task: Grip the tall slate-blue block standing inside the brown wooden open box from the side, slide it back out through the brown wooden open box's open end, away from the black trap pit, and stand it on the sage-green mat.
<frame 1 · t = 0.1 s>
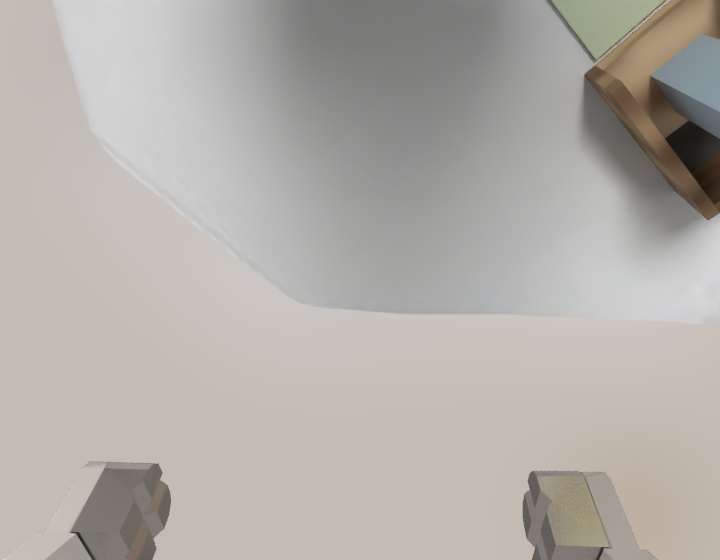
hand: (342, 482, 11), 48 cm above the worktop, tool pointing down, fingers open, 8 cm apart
brown wooden open box: (692, 91, 51), on the worktop
block: (688, 74, 48), point 2 cm above the worktop, touching brown wooden open box
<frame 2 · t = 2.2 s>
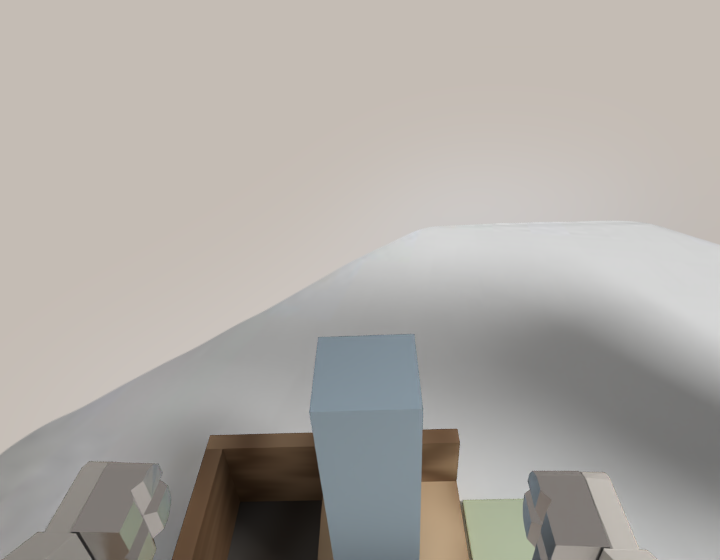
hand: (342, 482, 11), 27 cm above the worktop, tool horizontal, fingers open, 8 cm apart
block: (378, 552, 34), point 2 cm above the worktop, touching brown wooden open box
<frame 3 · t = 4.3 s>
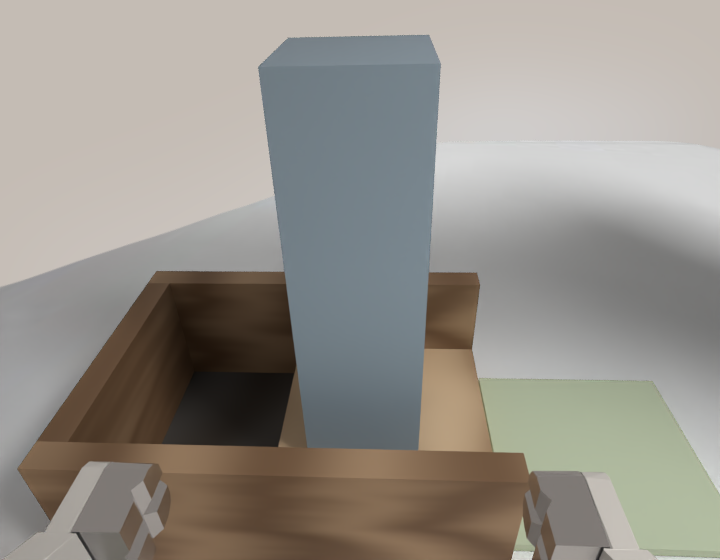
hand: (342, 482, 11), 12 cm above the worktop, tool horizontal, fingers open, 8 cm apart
brown wooden open box: (308, 449, 27), on the worktop
mat: (590, 456, 26), on the worktop
block: (365, 417, 25), point 2 cm above the worktop, touching brown wooden open box
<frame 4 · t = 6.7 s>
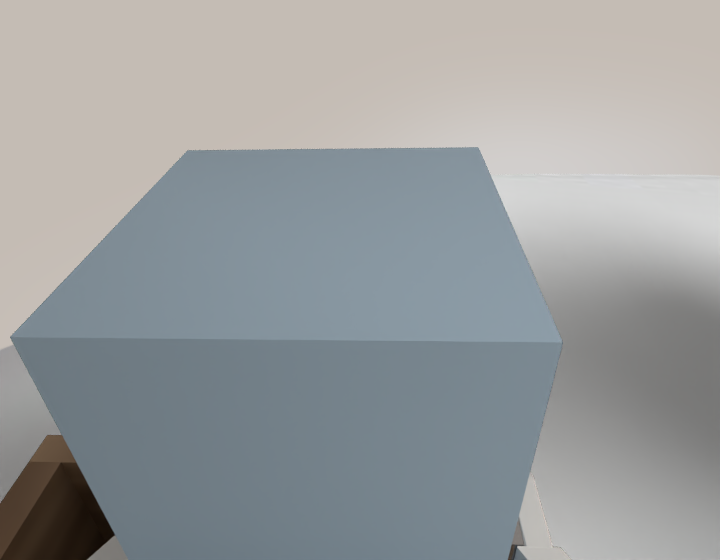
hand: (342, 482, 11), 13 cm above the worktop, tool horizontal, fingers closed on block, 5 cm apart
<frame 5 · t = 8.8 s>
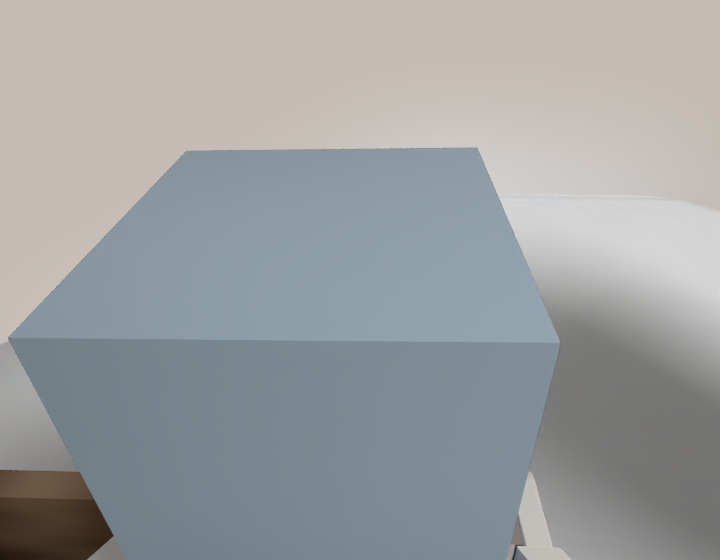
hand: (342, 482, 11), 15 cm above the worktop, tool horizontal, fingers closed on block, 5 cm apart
when the fingers open (12 cm above the worktop, at t = 10.8 s): block drops 1 cm, resting on mat.
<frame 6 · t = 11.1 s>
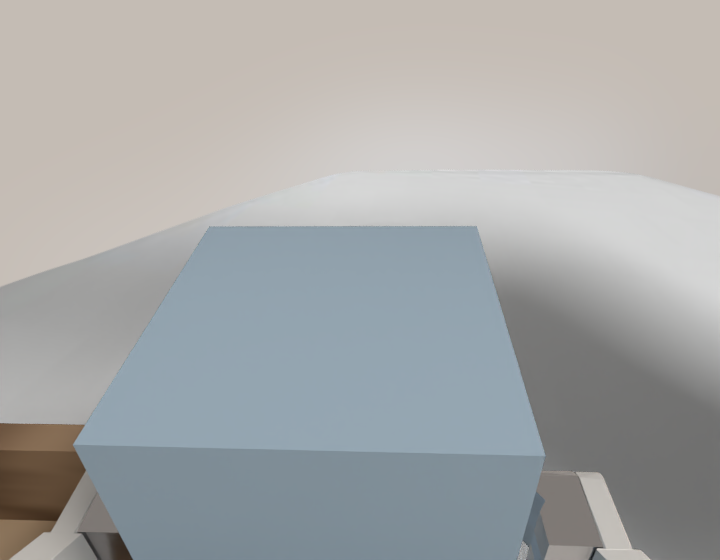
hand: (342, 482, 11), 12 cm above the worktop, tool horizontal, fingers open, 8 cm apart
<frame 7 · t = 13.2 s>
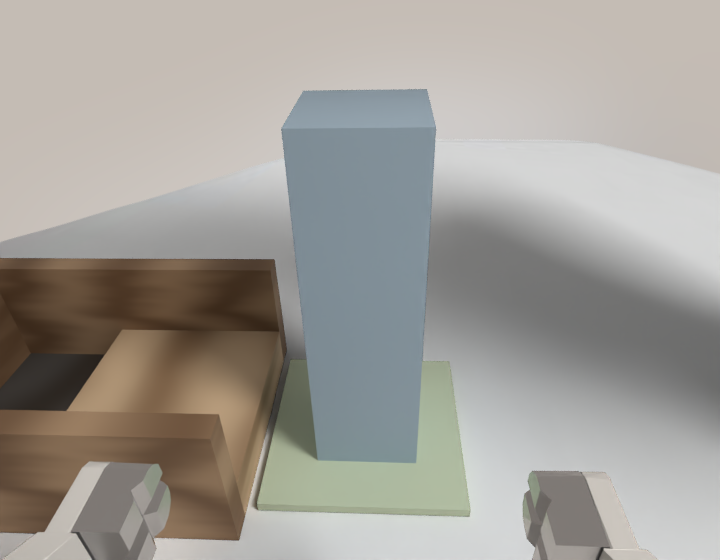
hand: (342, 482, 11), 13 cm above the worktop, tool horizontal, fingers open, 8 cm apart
brown wooden open box: (111, 423, 29), on the worktop
mat: (366, 428, 28), on the worktop
block: (368, 423, 28), resting on mat
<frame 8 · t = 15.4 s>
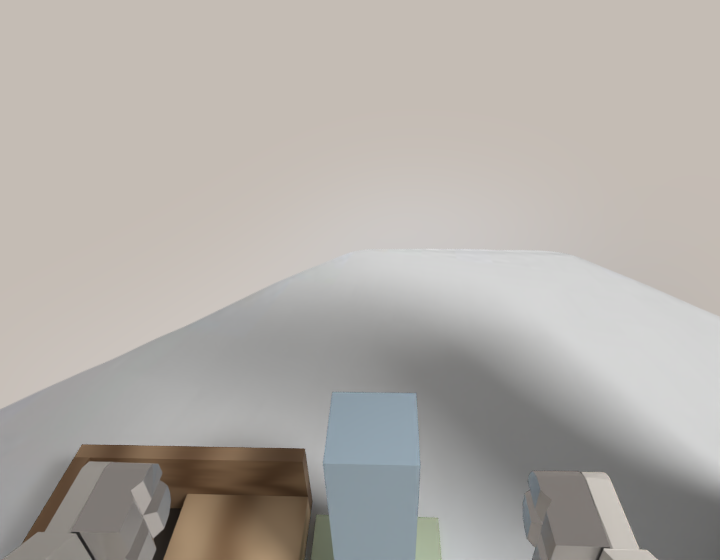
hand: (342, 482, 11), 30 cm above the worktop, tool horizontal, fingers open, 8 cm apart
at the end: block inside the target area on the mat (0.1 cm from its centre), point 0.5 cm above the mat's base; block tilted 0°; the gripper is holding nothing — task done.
